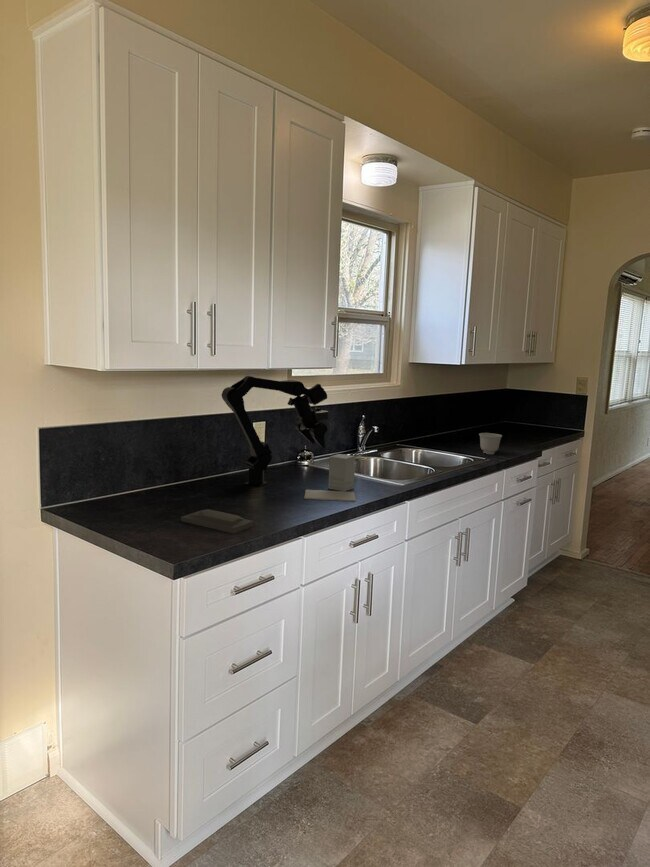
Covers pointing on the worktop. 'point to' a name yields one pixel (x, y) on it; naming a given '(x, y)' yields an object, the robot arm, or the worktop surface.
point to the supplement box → (341, 472)
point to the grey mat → (329, 495)
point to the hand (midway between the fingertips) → (318, 445)
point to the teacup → (489, 442)
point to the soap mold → (218, 520)
